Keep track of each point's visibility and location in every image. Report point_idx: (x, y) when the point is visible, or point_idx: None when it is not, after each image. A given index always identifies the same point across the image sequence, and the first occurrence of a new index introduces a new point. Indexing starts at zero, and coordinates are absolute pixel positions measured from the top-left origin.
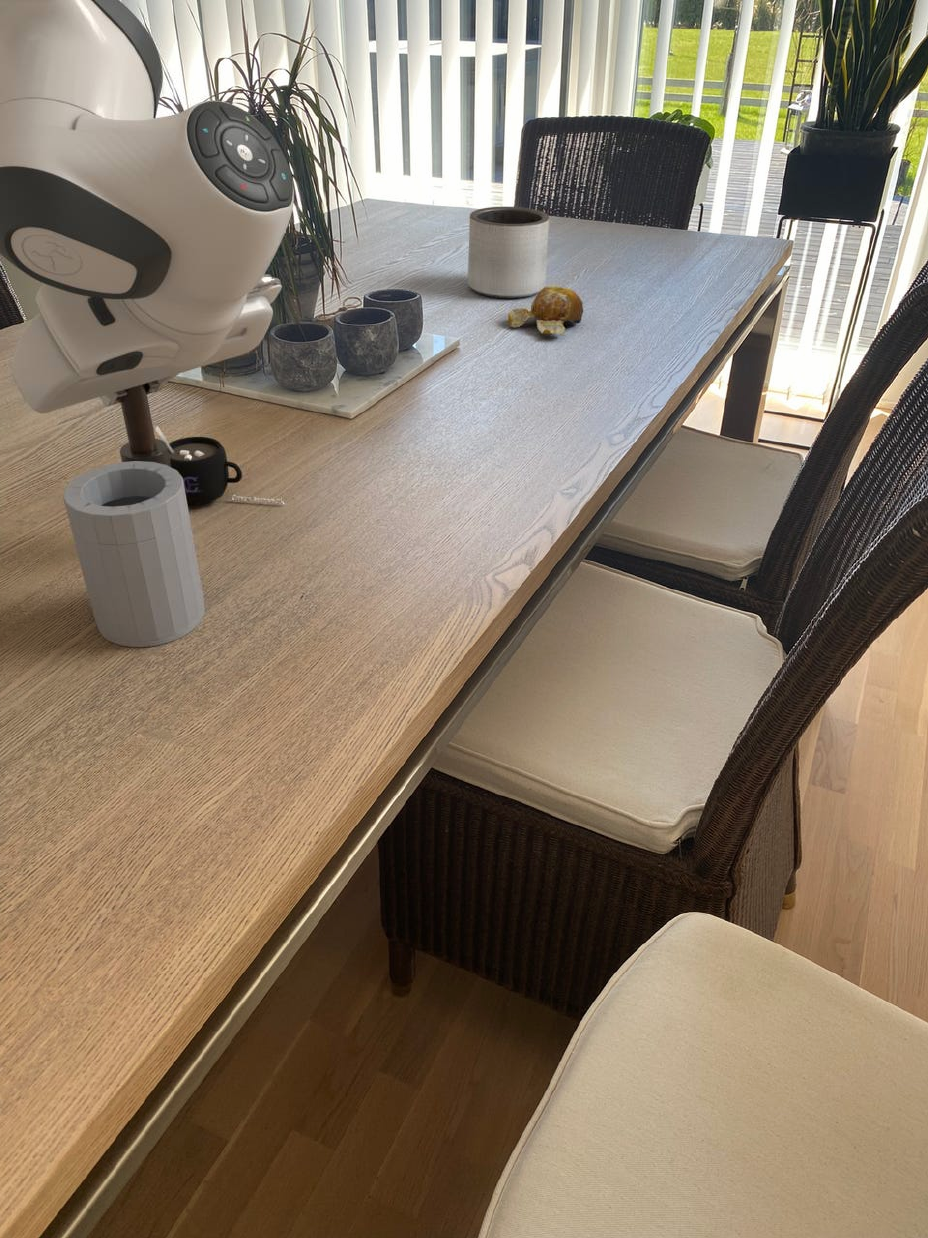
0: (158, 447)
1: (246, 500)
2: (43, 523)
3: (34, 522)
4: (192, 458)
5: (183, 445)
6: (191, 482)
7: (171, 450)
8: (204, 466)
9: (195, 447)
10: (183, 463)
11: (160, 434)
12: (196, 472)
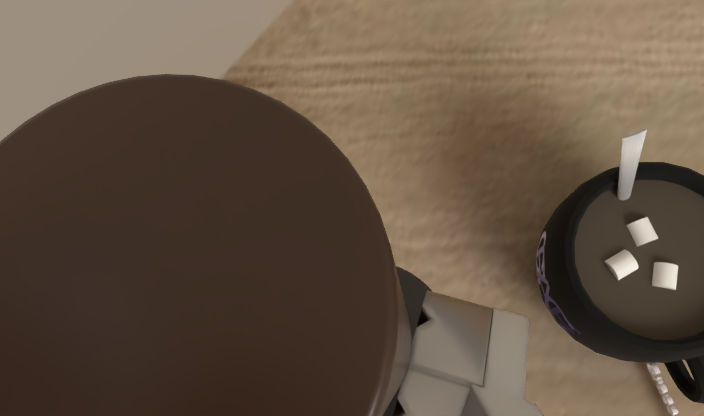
0: (398, 392)
1: (666, 402)
2: (321, 58)
3: (315, 40)
4: (631, 276)
5: (680, 191)
6: (561, 318)
7: (623, 194)
8: (612, 347)
9: (694, 232)
10: (573, 295)
11: (627, 155)
12: (584, 330)
